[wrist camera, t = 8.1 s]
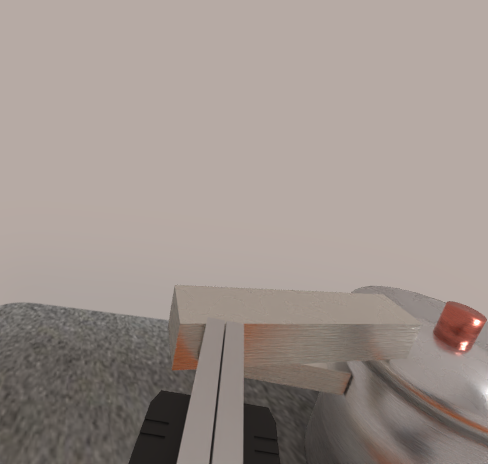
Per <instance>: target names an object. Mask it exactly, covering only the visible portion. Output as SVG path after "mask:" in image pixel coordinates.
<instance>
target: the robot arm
mask: <svg viewBox="0 0 488 464" xmlns="http://www.w3.org/2000/svg"><path fill="white" fill-rule="evenodd" d="M224 326H225V320H221V319H215V318H210V317H208V318H207V323H206V328H205V332H204V337H203V342H202V346H201V351H200V356H199V361H198V365H197V370H196V375H195V379H194V384H193V389H192V394H191V395H186V394H180V393H174V392H168V391H163V390H161V391H160V393H159V394H158V395H157V396H156V397H155V398H154V399H153V400H152V401H151V403H150V405H149V408H148V411H147V414H146V416H145V420H144V422H143V425H142V427H141V430H140V434H139V436H138V439H137V441H136V444H135V447H134V450H133V452H132V455H131V458H130V461H129V464H280V459H279V449H278V443H277V430H276V423H275V420H274V418H273V416H272V414H271V412H270V410H269V408H267V407H261V406H255V405H249V404H244V403H243V401H244V324H242V323H237V322H231V321H227V322H226V327H225V331H224Z"/></svg>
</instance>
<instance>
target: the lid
mask: <svg viewBox="0 0 488 464" xmlns="http://www.w3.org/2000/svg"><path fill="white" fill-rule="evenodd" d="M208 317H210V318H215V319H221V320H225V326H224V331H225V327H226V322H227V321H231V322H237V323H242V324H244V367H250V366H270V365H289V364H309V363H329V362H349V361H363V362H364V363H365V364H366V365H367V366H368V367H369V368H370V369H371V370H372V371H373V372H374V373H375V374H376V375H377V376H378V377H379V378H380V379H381V380H382V381H384V382H385V383H386V384H387V385H388V386H389V387H391V388H392V389H393V390H394V391H396V392H397V393H398V394H399V395H401V396H402V397H403V398H405V399H406V400H407V401H409V402H410V403H412V404H413V405H414V406H416V407H417V408H419V409H420V410H422V411H423V412H425V413H426V414H428V415H430V416H431V417H433V418H434V419H436V420H438V421H439V422H441V423H443V424H444V425H446V426H448V427H450V428H452V429H453V430H455V431H457V432H459V433H461V434H463V435H465V436H467V437H469V438H471V439H473V440H475V441H477V442H480V443H482V444H484V445H486V446H488V322H487V319H486V318H485V316H484V315H482V314H481V313H479V312H478V311H476V310H474V309H472V308H470V307H468V306H466V305H463V304H460V303H456V302H450V301H449V302H447V303H445V302H442V301H440V300H437V299H434V298H431V297H428V296H425V295H421V294H418V293H414V292H411V291H407V290H402V289H398V288H391V287H383V286H368V287H361V288H358V289H356V290H354V291H353V292H351V293H340V292H339V293H338V292H317V291H294V290H273V289H251V288H228V287H206V286H184V285H175V287H174V294H173V300H172V305H171V312H170V318H169V324H168V328H169V341H170V353H171V366H172V370H191V369H197V365H198V361H199V356H200V351H201V346H202V342H203V337H204V332H205V328H206V323H207V318H208Z"/></svg>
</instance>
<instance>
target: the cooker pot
mask: <svg viewBox="0 0 488 464" xmlns="http://www.w3.org/2000/svg"><path fill="white" fill-rule="evenodd" d="M244 378H250V379H255V380H261V381H266V382H272V383H277V384H283V385H288V386H293V387H299V388H304V389H310V390H315V391H320V393H319V395H318V398H317V401H316V403H315V406H314V409H313V411H312V414H311V417H310V419H309V422H308V425H307V428H306V433H305V452H306V459H307V463H308V464H488V446H486V445H484V444H482V443H480V442H477V441H475V440H473V439H471V438H469V437H467V436H465V435H463V434H461V433H459V432H457V431H455V430H453V429H452V428H450V427H448V426H446V425H444V424H443V423H441V422H439V421H438V420H436V419H434V418H433V417H431V416H430V415H428V414H426V413H425V412H423V411H422V410H420V409H419V408H417V407H416V406H414V405H413V404H412V403H410V402H409V401H407V400H406V399H405V398H403V397H402V396H401V395H399V394H398V393H397V392H396V391H394V390H393V389H392V388H391V387H389V386H388V385H387V384H386V383H385V382H384V381H382V380H381V379H380V378H379V377H378V376H377V375H376V374H375V373H374V372H373V371H372V370H371V369H370V368H369V367H368V366H367V365H366V364H365V363H364V362H363V361H349V362H329V363H309V364H289V365H270V366H250V367H244Z"/></svg>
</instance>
